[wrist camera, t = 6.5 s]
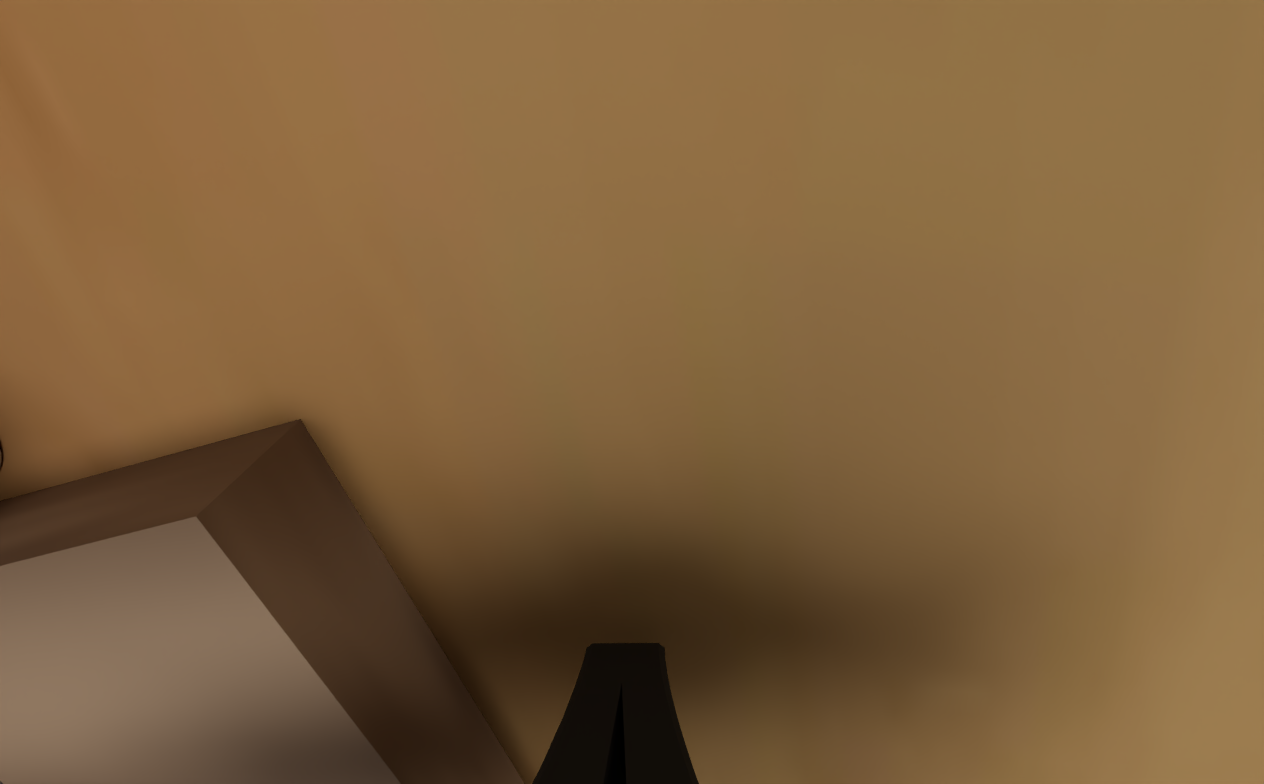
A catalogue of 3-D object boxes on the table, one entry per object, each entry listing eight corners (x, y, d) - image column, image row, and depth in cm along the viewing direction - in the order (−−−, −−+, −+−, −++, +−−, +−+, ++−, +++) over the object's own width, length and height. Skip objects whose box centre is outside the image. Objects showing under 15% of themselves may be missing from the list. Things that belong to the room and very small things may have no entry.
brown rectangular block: (549, 801, 16) (527, 949, 13) (312, 837, 17) (247, 980, 14) (311, 408, 11) (196, 516, 8) (-5, 495, 12) (-203, 616, 9)
